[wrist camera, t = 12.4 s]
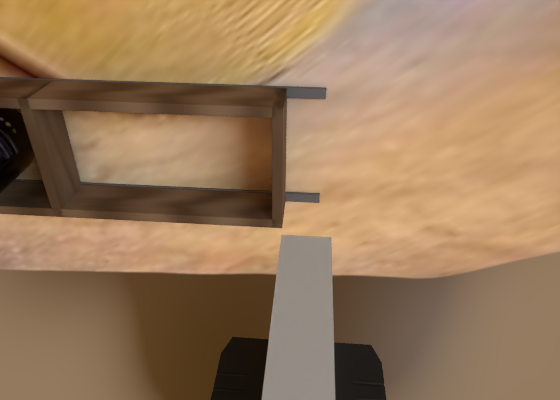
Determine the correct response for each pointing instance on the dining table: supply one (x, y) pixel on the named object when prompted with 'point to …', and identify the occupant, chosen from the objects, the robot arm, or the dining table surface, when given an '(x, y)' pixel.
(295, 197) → the tunnel
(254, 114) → the divided wooden tray
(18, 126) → the supplement bottle
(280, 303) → the robot arm
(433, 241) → the dining table surface
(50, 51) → the dining table surface
